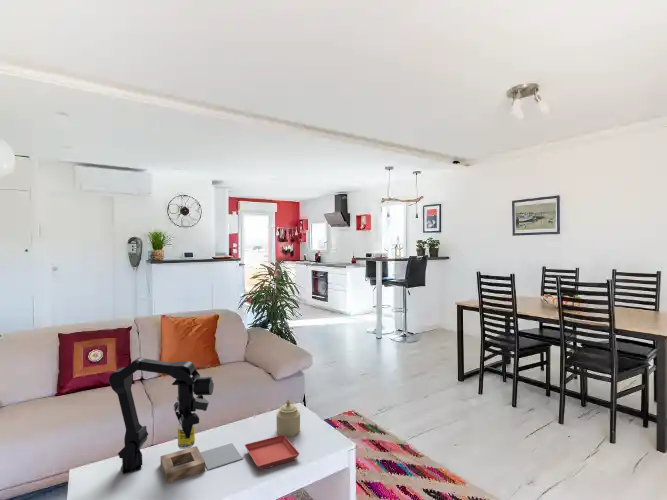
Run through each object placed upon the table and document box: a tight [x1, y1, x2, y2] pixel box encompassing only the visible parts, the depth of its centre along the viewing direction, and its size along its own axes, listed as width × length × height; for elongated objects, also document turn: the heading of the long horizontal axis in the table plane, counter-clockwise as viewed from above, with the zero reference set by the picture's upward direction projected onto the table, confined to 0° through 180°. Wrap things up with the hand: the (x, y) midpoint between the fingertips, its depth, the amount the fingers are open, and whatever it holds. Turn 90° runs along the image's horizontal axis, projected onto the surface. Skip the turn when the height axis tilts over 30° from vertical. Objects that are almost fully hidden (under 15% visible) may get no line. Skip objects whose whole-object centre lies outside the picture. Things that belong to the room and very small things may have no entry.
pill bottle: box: [177, 423, 196, 450], centre depth 151 cm, size 6×6×11 cm
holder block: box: [159, 445, 206, 484], centre depth 150 cm, size 14×14×4 cm
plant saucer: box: [244, 435, 300, 470], centre depth 159 cm, size 18×18×3 cm
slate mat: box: [200, 442, 244, 471], centre depth 158 cm, size 14×14×1 cm
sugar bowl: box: [276, 399, 301, 438], centre depth 181 cm, size 15×11×15 cm
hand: (186, 434), depth 151 cm, fingers closed on pill bottle, 6 cm apart
